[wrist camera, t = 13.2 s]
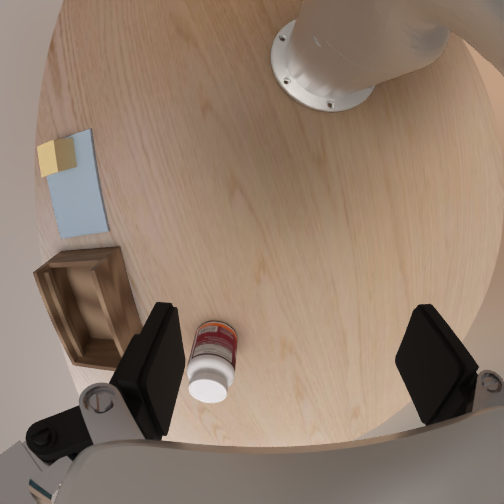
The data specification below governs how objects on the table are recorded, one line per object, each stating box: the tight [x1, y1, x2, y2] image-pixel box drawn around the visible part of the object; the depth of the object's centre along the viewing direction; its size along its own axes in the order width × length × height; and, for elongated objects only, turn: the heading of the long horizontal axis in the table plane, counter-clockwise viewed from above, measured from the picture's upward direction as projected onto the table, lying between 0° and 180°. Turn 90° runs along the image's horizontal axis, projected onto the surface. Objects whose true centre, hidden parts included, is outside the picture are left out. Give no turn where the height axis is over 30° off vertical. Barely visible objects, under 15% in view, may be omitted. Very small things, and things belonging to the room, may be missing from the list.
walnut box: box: [33, 246, 143, 371], centre depth 36 cm, size 16×11×7 cm
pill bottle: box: [187, 322, 237, 403], centre depth 36 cm, size 6×6×11 cm
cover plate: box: [37, 129, 110, 239], centre depth 31 cm, size 14×9×5 cm, turn 6°
